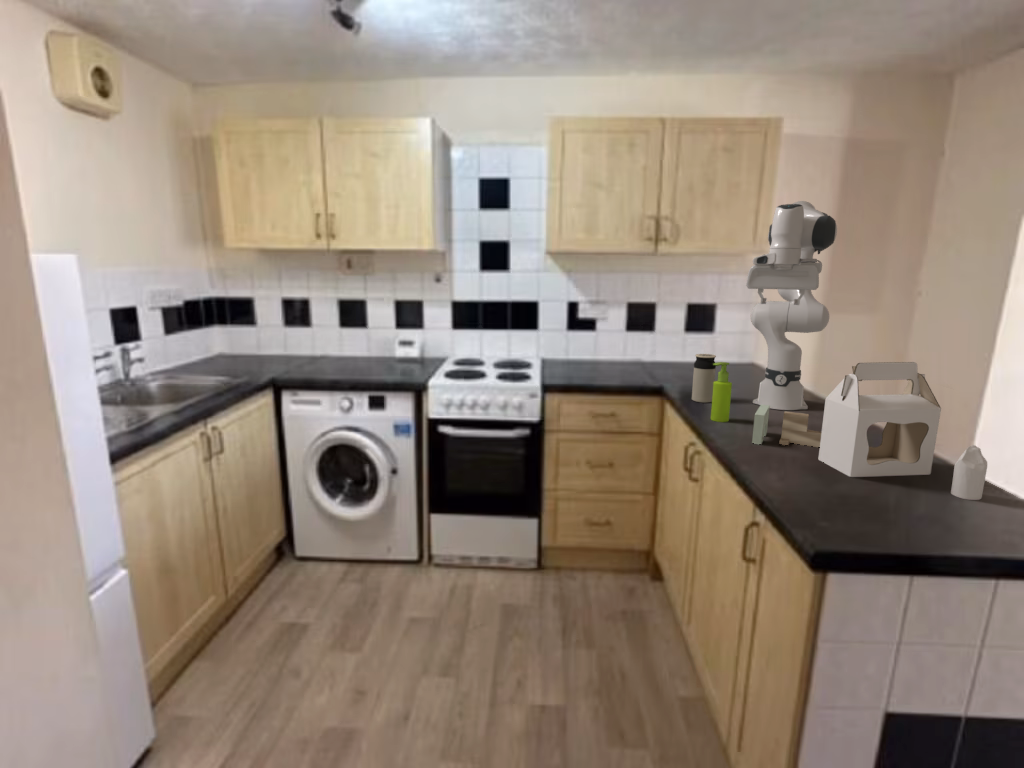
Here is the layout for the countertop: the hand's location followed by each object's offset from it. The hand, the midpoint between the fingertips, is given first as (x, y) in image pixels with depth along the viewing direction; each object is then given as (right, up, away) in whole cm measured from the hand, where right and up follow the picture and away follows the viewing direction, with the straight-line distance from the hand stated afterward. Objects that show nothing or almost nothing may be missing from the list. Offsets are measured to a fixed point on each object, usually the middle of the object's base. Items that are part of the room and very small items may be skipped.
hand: (779, 304), depth 175 cm
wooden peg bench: (+6, -43, -9) cm, 44 cm away
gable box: (+12, -47, -26) cm, 55 cm away
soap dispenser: (-12, -37, +18) cm, 43 cm away
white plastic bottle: (+22, -51, -45) cm, 71 cm away
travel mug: (-9, -31, +46) cm, 56 cm away
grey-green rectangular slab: (-7, -41, -2) cm, 42 cm away
